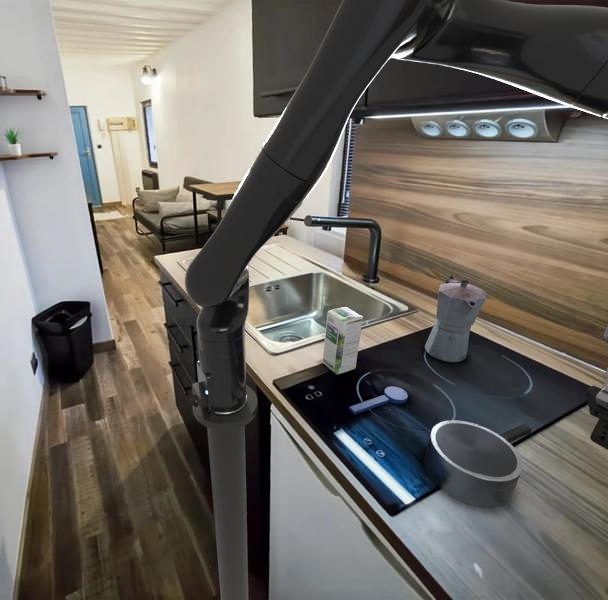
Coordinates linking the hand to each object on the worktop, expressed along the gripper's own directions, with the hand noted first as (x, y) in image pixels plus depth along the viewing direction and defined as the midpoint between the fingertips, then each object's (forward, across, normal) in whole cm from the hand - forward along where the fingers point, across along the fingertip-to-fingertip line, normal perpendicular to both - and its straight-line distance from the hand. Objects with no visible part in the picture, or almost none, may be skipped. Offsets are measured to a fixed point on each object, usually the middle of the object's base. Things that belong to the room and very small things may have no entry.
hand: (604, 443), depth 42 cm
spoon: (+19, 0, -31) cm, 36 cm away
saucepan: (+19, -3, -12) cm, 22 cm away
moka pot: (+19, -28, -39) cm, 52 cm away
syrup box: (+19, -1, -45) cm, 49 cm away
